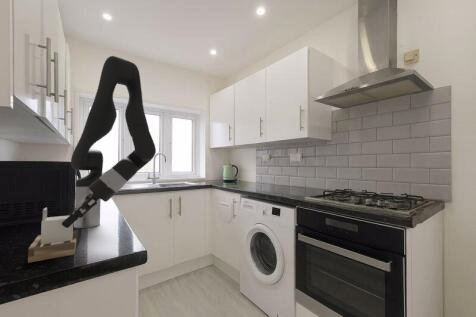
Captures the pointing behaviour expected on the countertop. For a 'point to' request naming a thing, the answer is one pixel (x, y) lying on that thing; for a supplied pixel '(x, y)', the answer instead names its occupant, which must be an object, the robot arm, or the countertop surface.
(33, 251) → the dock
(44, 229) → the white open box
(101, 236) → the countertop surface
